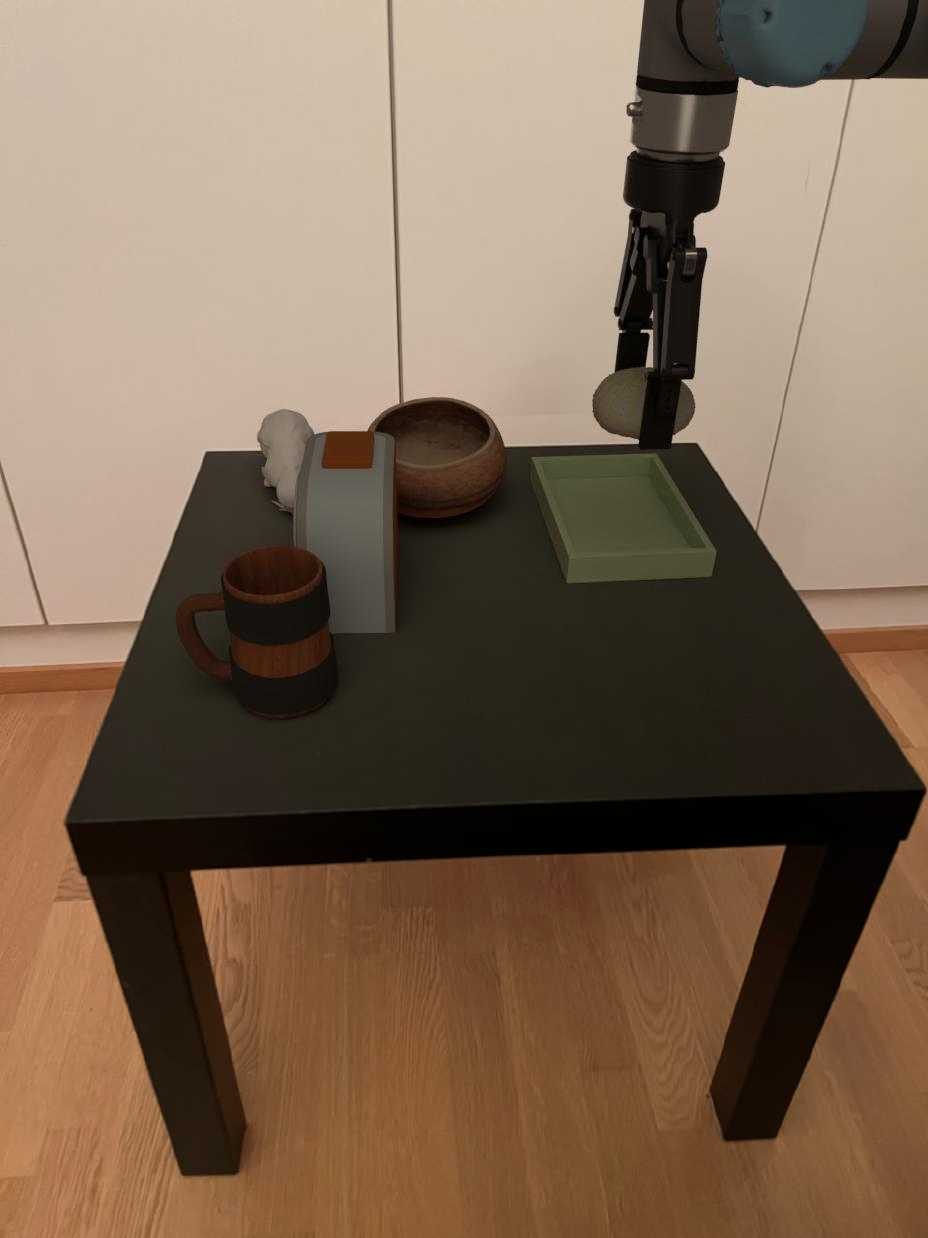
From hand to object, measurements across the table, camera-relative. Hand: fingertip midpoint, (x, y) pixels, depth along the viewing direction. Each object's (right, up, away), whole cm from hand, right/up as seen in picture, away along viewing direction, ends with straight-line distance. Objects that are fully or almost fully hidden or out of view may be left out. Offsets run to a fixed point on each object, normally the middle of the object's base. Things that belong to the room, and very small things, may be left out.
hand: (639, 423), depth 86 cm
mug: (-32, -24, -8) cm, 41 cm away
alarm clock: (-27, -15, +5) cm, 31 cm away
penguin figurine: (-35, -4, +19) cm, 40 cm away
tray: (0, -8, +16) cm, 17 cm away
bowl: (-19, -5, +19) cm, 27 cm away
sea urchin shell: (0, 0, 0) cm, 0 cm away
